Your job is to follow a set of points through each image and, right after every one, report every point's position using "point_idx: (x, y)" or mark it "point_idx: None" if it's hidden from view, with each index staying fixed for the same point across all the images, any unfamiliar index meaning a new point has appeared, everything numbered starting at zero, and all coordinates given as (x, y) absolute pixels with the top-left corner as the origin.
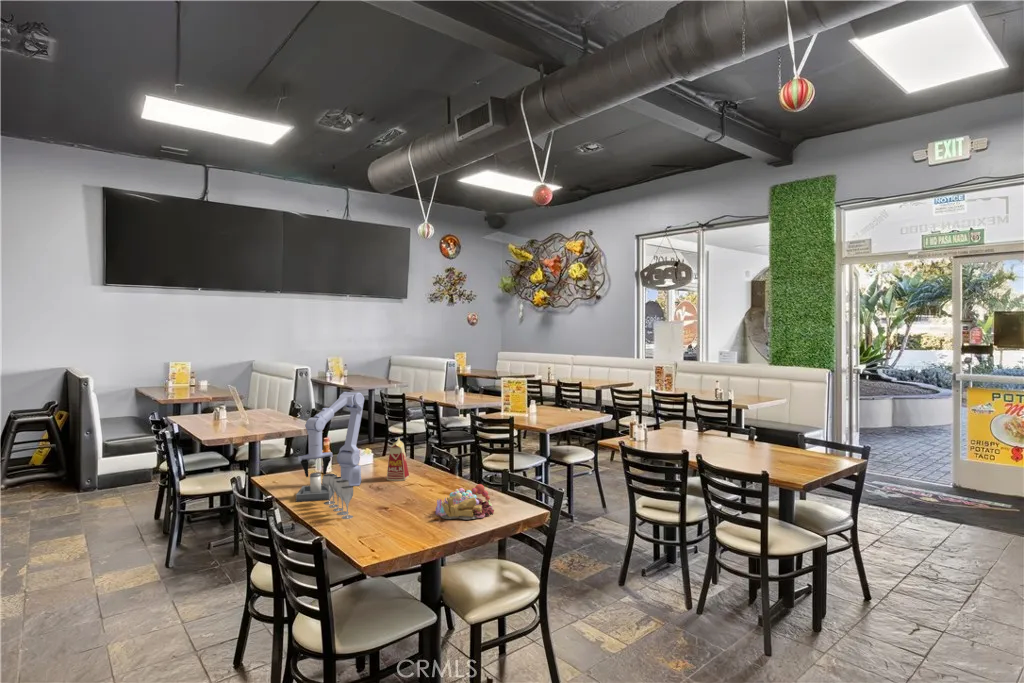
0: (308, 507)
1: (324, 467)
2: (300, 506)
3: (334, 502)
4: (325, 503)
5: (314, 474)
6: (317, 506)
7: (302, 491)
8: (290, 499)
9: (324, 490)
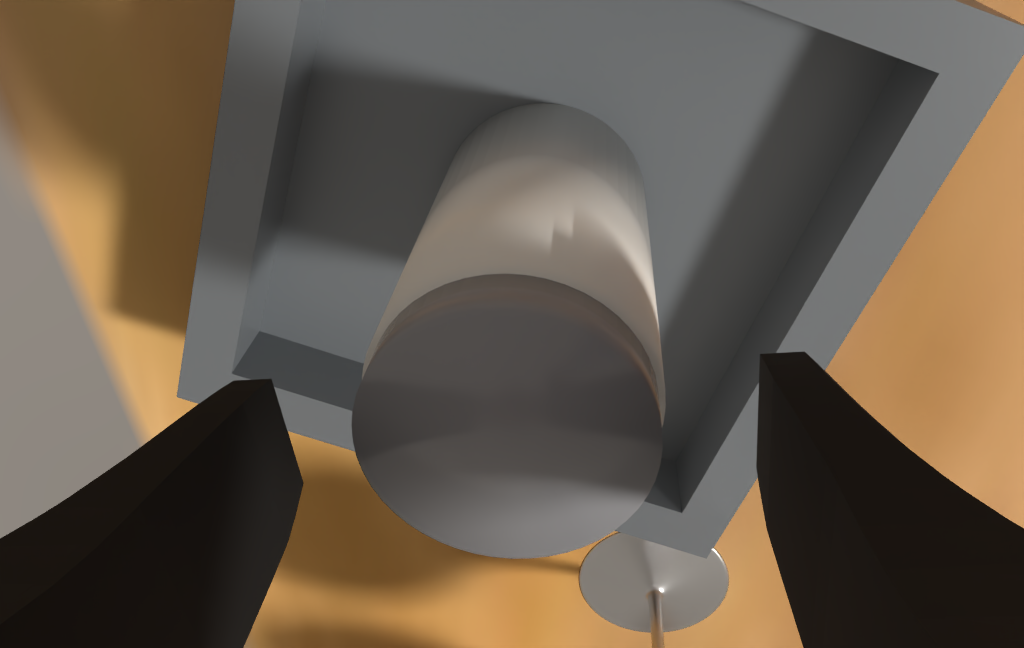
0: (384, 610)
1: (813, 606)
2: (291, 538)
3: (712, 606)
4: (598, 592)
5: (465, 508)
6: (488, 626)
7: (287, 120)
8: (121, 159)
9: (750, 48)
